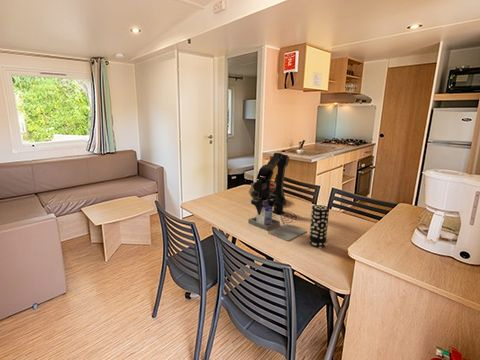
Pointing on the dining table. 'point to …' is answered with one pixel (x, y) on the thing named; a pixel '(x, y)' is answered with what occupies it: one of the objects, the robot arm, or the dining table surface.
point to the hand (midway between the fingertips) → (264, 213)
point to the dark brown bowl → (272, 187)
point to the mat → (287, 232)
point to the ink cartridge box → (265, 214)
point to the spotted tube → (318, 226)
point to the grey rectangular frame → (262, 226)
